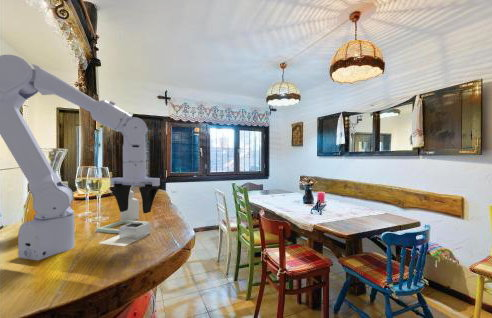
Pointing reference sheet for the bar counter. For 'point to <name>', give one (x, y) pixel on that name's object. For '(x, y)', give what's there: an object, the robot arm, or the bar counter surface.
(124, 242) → the board
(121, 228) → the grey square block
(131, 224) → the stake
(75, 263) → the bar counter surface
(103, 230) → the tray
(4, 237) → the bar counter surface
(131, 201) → the eye dropper bottle
